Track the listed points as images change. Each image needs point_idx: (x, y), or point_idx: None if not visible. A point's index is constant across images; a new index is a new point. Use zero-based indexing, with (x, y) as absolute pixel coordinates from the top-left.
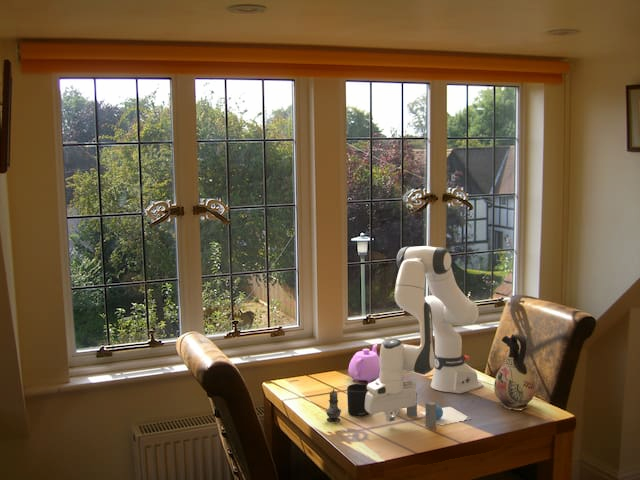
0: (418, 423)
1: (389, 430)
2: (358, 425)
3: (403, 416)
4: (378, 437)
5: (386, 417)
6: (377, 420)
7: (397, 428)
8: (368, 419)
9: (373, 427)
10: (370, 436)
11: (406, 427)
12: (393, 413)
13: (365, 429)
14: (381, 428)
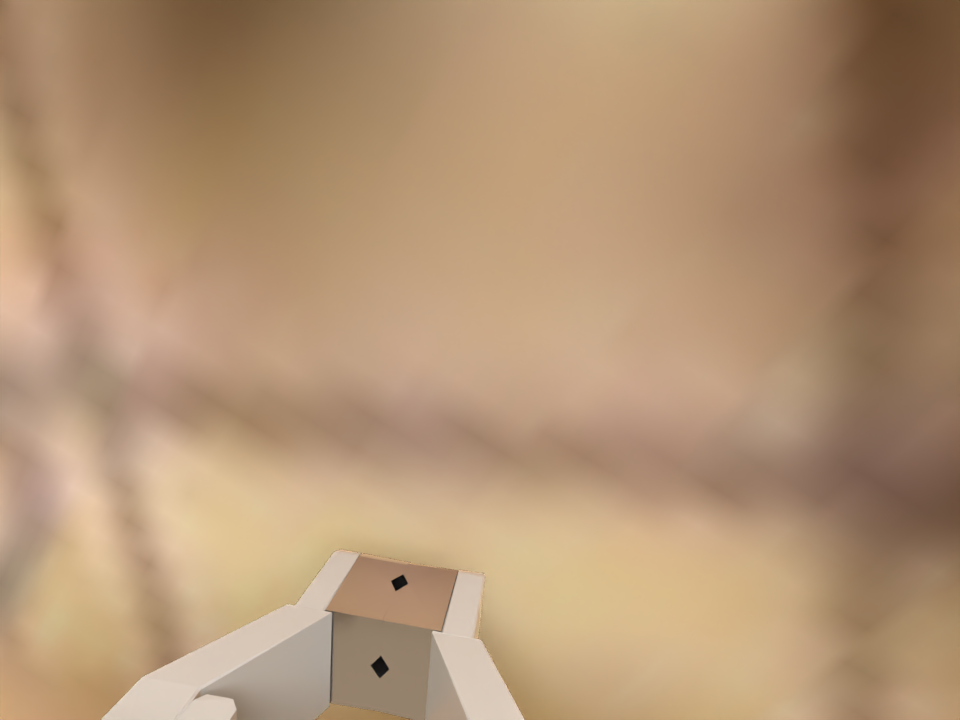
0: (897, 665)
1: None
2: (41, 231)
3: (939, 297)
4: (129, 672)
5: (309, 590)
6: (394, 209)
7: (483, 617)
8: (280, 85)
9: (204, 410)
10: (58, 603)
11: (619, 663)
12: (445, 715)
13: (79, 406)
14: (287, 498)
